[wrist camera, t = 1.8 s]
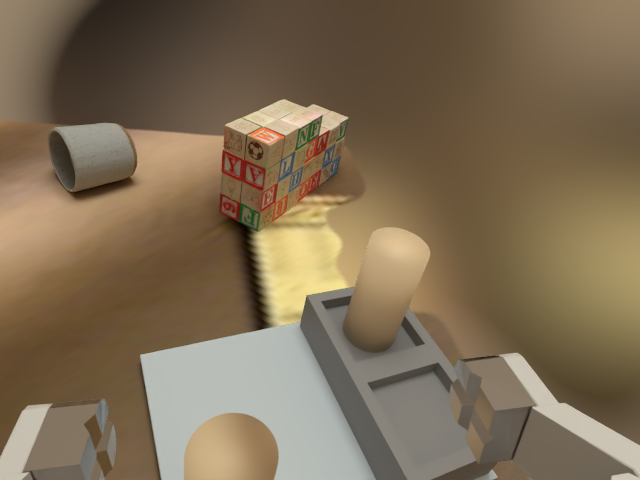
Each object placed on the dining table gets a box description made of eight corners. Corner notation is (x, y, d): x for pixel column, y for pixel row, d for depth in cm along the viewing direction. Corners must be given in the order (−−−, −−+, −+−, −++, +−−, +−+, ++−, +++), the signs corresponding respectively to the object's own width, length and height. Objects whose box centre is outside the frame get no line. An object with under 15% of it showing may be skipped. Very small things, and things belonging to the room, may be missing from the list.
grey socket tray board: (185, 622, 27) (187, 522, 18) (140, 362, 40) (130, 233, 31) (492, 483, 37) (584, 377, 29) (377, 311, 50) (417, 204, 42)
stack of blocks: (304, 158, 75) (317, 83, 68) (337, 173, 73) (355, 97, 66) (218, 213, 59) (223, 122, 52) (258, 233, 57) (269, 143, 50)
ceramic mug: (142, 185, 60) (139, 130, 56) (79, 203, 55) (70, 145, 51) (102, 151, 65) (96, 99, 61) (40, 165, 60) (29, 108, 56)
